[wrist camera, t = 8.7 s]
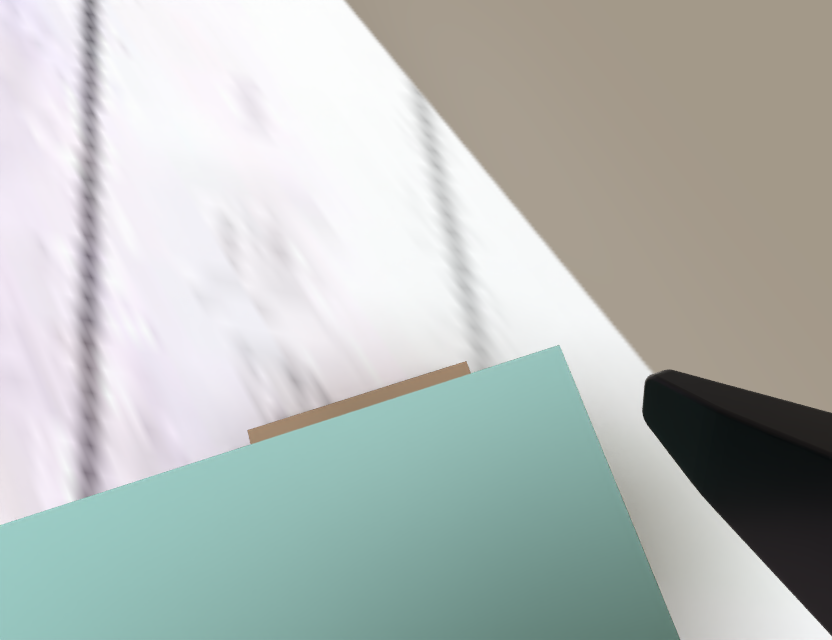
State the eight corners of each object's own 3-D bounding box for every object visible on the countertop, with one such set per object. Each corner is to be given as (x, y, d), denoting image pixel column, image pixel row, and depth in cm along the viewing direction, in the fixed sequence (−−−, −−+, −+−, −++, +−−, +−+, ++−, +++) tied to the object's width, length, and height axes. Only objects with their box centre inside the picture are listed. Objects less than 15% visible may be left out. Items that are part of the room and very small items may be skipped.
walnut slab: (523, 573, 19) (551, 590, 16) (318, 657, 17) (309, 694, 14) (452, 376, 21) (466, 360, 18) (264, 437, 19) (247, 430, 16)
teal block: (487, 568, 15) (850, 1054, 3) (348, 619, 15) (67, 1469, 2) (441, 427, 17) (559, 345, 4) (310, 471, 16) (-16, 530, 4)
